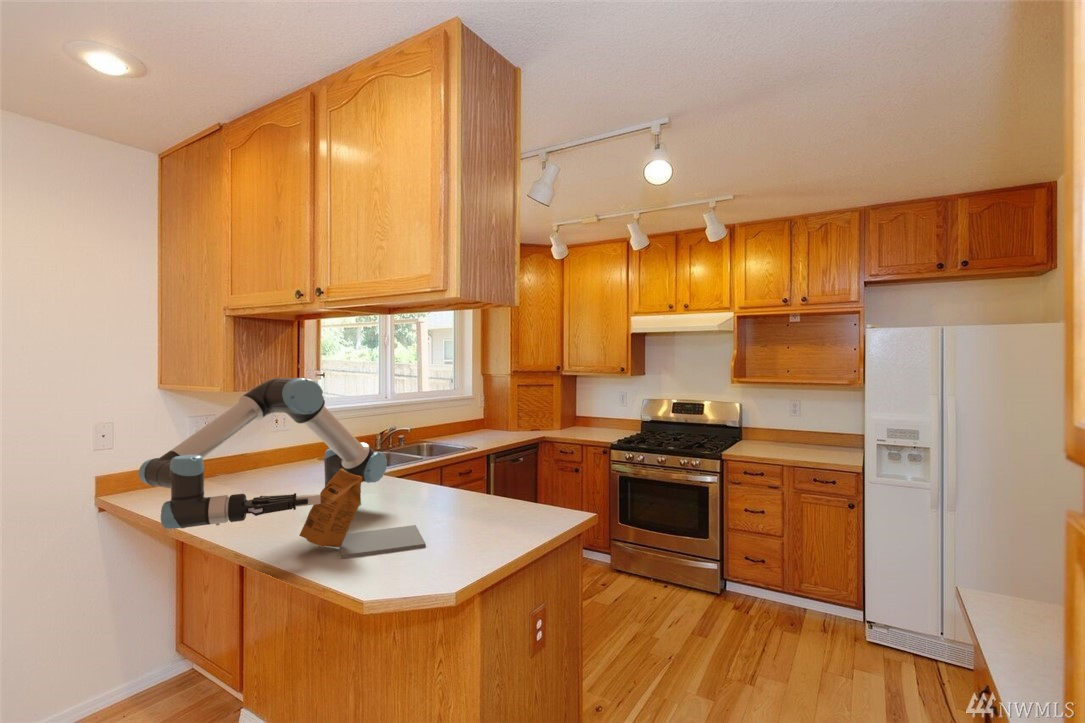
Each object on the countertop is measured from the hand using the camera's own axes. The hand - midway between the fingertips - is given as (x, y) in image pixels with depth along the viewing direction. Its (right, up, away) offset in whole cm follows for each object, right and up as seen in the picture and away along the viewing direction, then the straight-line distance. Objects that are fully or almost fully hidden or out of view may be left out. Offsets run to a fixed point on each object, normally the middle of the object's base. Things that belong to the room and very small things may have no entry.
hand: (320, 498), depth 154 cm
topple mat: (+16, -15, +7) cm, 23 cm away
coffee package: (-1, -13, 0) cm, 13 cm away
